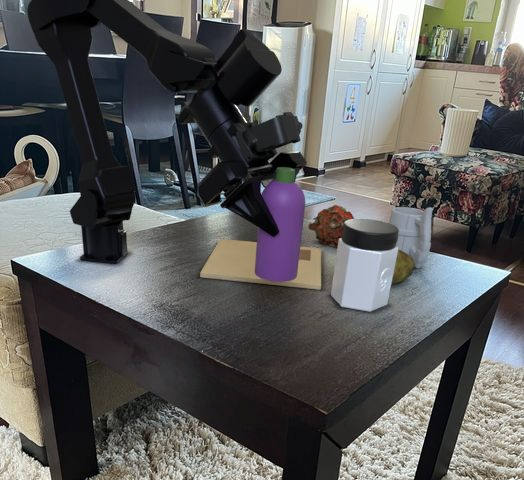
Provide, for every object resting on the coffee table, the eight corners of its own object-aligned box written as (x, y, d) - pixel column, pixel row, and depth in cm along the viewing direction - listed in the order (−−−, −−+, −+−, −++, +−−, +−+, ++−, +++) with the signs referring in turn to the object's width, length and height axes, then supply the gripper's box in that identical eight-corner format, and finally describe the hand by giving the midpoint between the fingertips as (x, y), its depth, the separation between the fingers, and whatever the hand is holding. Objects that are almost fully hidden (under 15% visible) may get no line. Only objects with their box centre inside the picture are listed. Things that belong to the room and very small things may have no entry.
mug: (406, 255, 107) (418, 194, 102) (439, 276, 98) (455, 210, 92) (372, 256, 105) (383, 194, 100) (402, 277, 95) (417, 210, 90)
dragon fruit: (336, 261, 106) (318, 251, 117) (371, 236, 105) (350, 228, 116) (315, 225, 102) (298, 218, 113) (351, 199, 102) (330, 194, 113)
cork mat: (200, 277, 88) (200, 272, 88) (220, 242, 106) (220, 238, 105) (320, 289, 87) (321, 284, 87) (320, 252, 105) (321, 248, 104)
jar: (362, 316, 79) (376, 237, 73) (320, 298, 84) (331, 223, 78) (396, 302, 85) (411, 228, 79) (355, 286, 90) (367, 215, 84)
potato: (421, 292, 90) (431, 245, 86) (345, 288, 89) (353, 241, 85) (407, 274, 97) (416, 231, 93) (337, 270, 96) (343, 227, 92)
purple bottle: (252, 279, 73) (260, 170, 66) (256, 264, 78) (264, 162, 71) (295, 283, 72) (308, 175, 66) (297, 269, 78) (309, 167, 71)
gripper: (220, 86, 59) (296, 207, 59) (302, 88, 73) (363, 185, 73) (166, 151, 66) (234, 258, 66) (250, 141, 80) (306, 229, 81)
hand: (288, 230), depth 71 cm, fingers closed on purple bottle, 6 cm apart
